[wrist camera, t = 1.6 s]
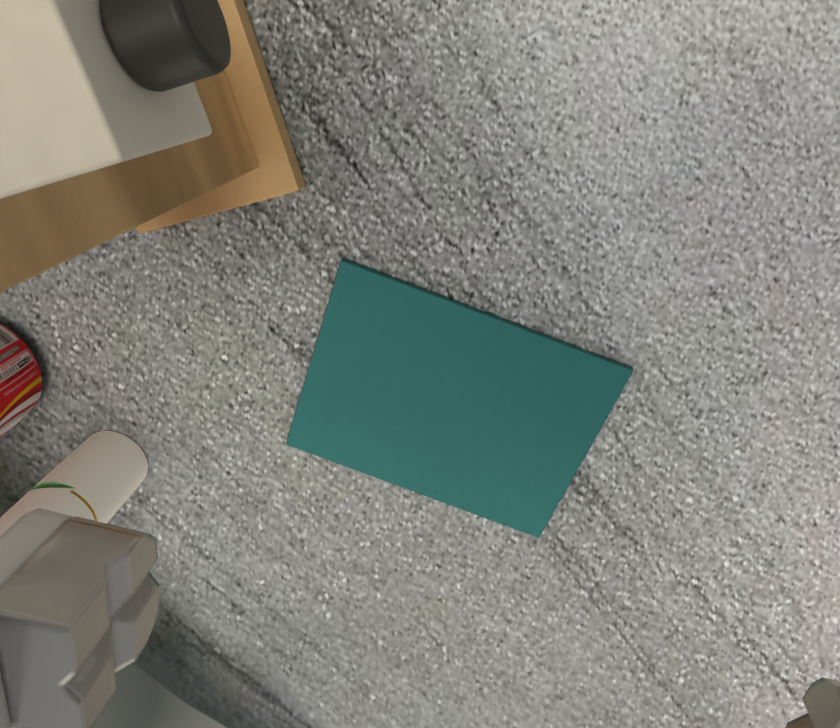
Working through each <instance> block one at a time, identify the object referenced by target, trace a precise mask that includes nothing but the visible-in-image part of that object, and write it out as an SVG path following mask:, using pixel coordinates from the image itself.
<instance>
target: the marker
mask: <svg viewBox="0 0 840 728" xmlns="http://www.w3.org/2000/svg"><path fill="white" fill-rule="evenodd" d="M230 58H231V45H230V38H229V33H228V29H227V25H226V22H225V19H224V16H223V13H222V10H221V8H220V5H219V3H218V1H217V0H0V199H2V198H5V197H8V196H12V195H15V194H18V193H22V192H25V191H28V190H32V189H35V188H38V187H42V186H45V185H48V184H51V183H55V182H58V181H61V180H65V179H68V178H71V177H75V176H78V175H81V174H85V173H88V172H91V171H94V170H98V169H101V168H104V167H108V166H111V165H114V164H118V163H121V162H124V161H127V160H131V159H134V158H137V157H141V156H144V155H147V154H150V153H154V152H157V151H160V150H164V149H167V148H170V147H173V146H177V145H180V144H183V143H186V142H190V141H193V140H196V139H200V138H203V137H206V136H209V135H210V134H211V133H212V129H211V126H210V123H209V121H208V118H207V115H206V113H205V110H204V107H203V105H202V102H201V100H200V97H199V94H198V92H197V89H196V86H195V84H194V82H195V81H198V80H201V79H204V78H207V77H210V76H213V75H216V74H219V73H221V72H222V71H223V70H224V69H225V68H226V67H227V66H228V65H229V62H230Z"/></svg>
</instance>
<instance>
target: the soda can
mask: <svg viewBox="0 0 840 728" xmlns="http://www.w3.org/2000/svg"><path fill="white" fill-rule="evenodd" d="M41 392H42V376H41V372H40V368H39V366H38V363H37V361H36V359H35V357H34V355H33V354H32V352H31V351H30V349H29V348H28V346H27V345H26V344H25V343H24V342H23V341H22V340H21V339H20V338H19V337H18V336H17V335H16V334H15V333H14V332H12V331H11V330H10V329H8V328H7V327H5V326H4V325H2V324H0V437H1V436H2V435H4V434H5V433H6V432H7V431H9V430H10V429H11V428H12V427H14V426H15V425H16V424H17V423H18V422H19V421H20V420H21V419H22V418H23V417H24V416H25V415H26V414H27V413H28V412H29V411H30V410H31V409H32V408H33V407H34V406H35V405H36V404H37V402H38V401H39V398H40V396H41Z"/></svg>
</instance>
